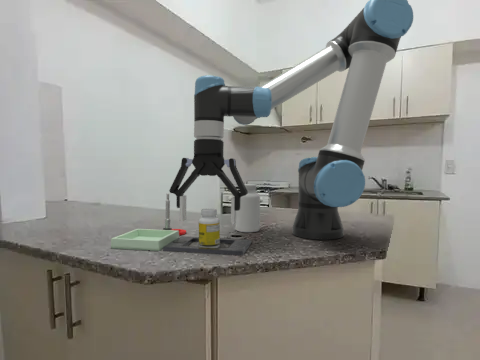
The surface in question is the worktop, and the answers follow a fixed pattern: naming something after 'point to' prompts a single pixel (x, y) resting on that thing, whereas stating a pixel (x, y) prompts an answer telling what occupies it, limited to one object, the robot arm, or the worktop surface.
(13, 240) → the worktop surface
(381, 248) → the worktop surface
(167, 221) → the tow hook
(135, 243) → the tray
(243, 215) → the pill bottle
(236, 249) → the dark grey slotted board
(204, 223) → the supplement bottle
